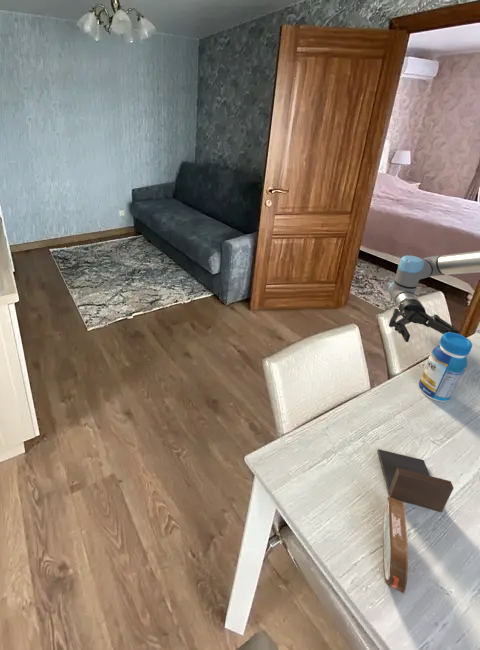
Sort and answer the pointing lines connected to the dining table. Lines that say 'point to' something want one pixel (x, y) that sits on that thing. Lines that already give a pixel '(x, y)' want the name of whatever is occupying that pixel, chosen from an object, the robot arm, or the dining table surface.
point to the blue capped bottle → (445, 367)
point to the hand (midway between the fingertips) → (432, 342)
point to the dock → (413, 481)
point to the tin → (395, 545)
